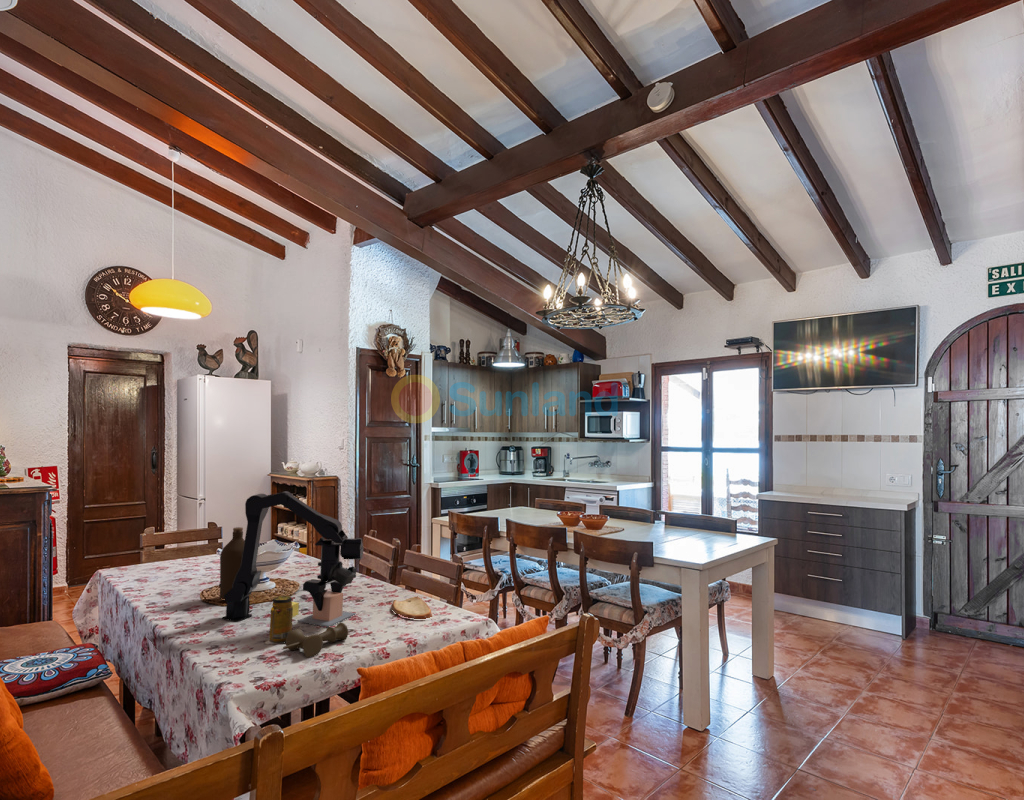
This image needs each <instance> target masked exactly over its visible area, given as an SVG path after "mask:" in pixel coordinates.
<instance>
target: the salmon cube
mask: <svg viewBox="0 0 1024 800" xmlns="http://www.w3.org/2000/svg"><path fill="white" fill-rule="evenodd" d="M312 601H313V602H312V614H313V619H319V620H325V621H331V620H333V619H335V618H338V617H340V616H342V611H343V607H344V606H343V604H344V592H341V593H339V592H332V591H331V590H328V591H327V592H326V593H325V594H324V599H323V607H322V611H319V610H318V609H317V606H316V604H315V602H314V600H312Z"/></svg>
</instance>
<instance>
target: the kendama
mask: <svg viewBox="0 0 1024 800" xmlns="http://www.w3.org/2000/svg"><path fill="white" fill-rule="evenodd" d="M348 636H349V629H348V626H347V625H346V623H344V622H340V623H337V624H336V626H334V627H333V626H331V627H326V629H325V631H323V632H320V633H319V634H318V633H313V634H311V635H308V636H307V635H305V633H304V632H303V630H302V629H300V628H295V629H292V631H291V632H290V633H289V634H288V636H287V638H286V643H285V645H284V646H283V648H282V649H283V650H290V651H293V650H294V649H295V650H298V649H301V650H302V651H303V654H304V656H305V657H307V658H311V657H310V656H313V657H315V656H314V655H316V654H317V655H319V654H320V652H321V651H322V648H323V645H324V644H323V642H328V643H335V641H338V640H339V641H342V640H344V641H345V640H347V639H348ZM295 650H294V651H295ZM317 655H316V656H317Z"/></svg>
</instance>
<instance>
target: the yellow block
mask: <svg viewBox="0 0 1024 800" xmlns="http://www.w3.org/2000/svg"><path fill="white" fill-rule="evenodd" d="M292 606H293V616H292V618H295V617H297V616H298V615H299V609H300V607H299V606H300V602H297V601H292ZM296 615H297V616H296Z"/></svg>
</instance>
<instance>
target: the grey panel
mask: <svg viewBox="0 0 1024 800" xmlns="http://www.w3.org/2000/svg"><path fill="white" fill-rule="evenodd" d="M355 614H356V615H357V613H356V612H352V611H343V610H342V616H340V617H338V618H335V619H333V620H331V621H325V620H319V619H313V613H312V614H310V615H308V616H305V617H302V618H300V619H298V620H297V623H300V622H302V623H301V624H306V623H309V624H308V625H311V624H315V625H314V626H317V625H321V626H320V627H323V626H326V627H325V628H328V627H329V626H331V627H333V626H335V625H337V624H339V623H338V622H340V621H342V622H344V621H345V619H346V620H348V619H350V618H352V617H351V616H353V615H355ZM356 615H355V616H356ZM349 617H350V618H349ZM353 617H354V616H353ZM347 618H348V619H347ZM343 620H344V621H343ZM336 623H337V624H336ZM340 623H341V622H340ZM334 624H335V625H334ZM332 625H333V626H332Z"/></svg>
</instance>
